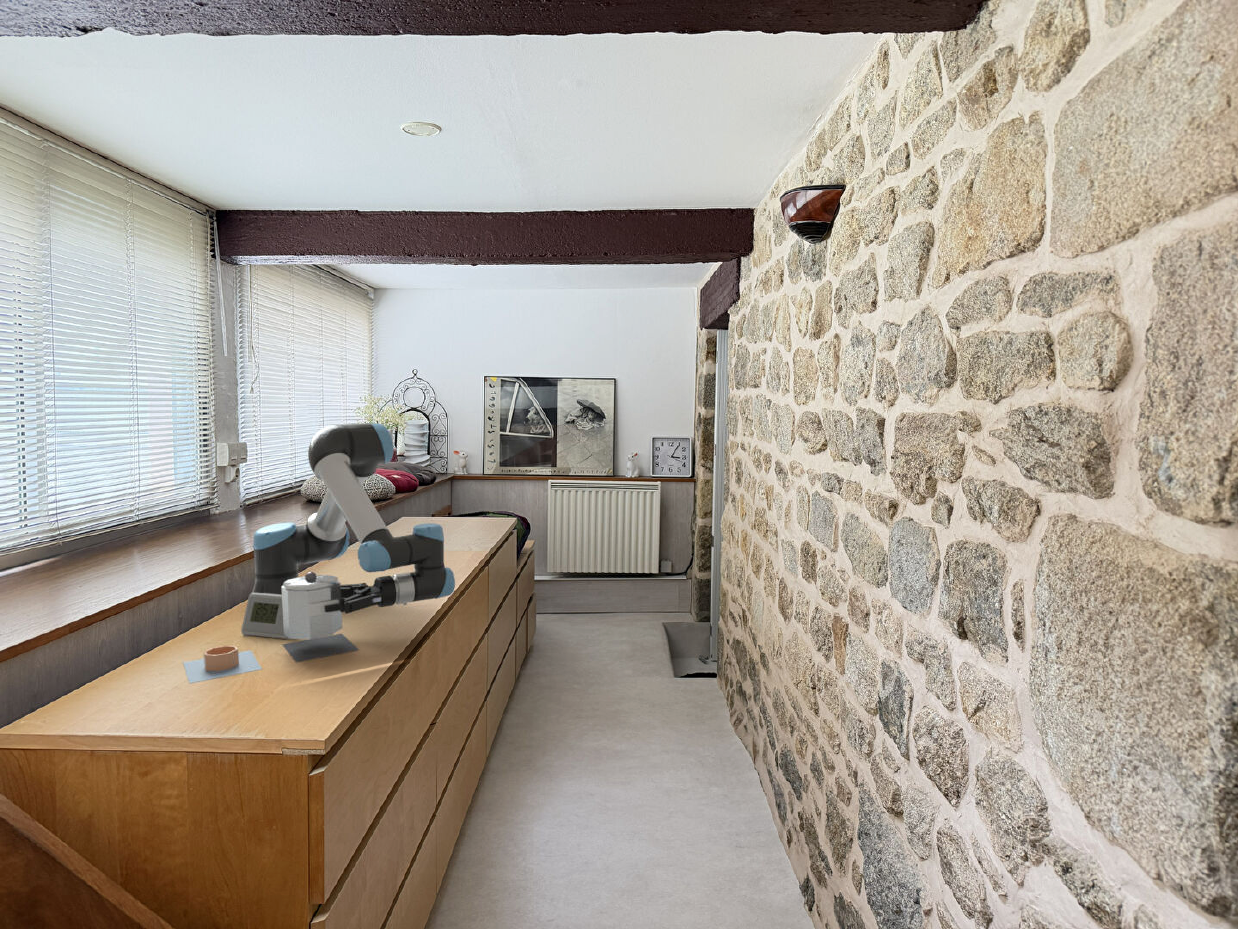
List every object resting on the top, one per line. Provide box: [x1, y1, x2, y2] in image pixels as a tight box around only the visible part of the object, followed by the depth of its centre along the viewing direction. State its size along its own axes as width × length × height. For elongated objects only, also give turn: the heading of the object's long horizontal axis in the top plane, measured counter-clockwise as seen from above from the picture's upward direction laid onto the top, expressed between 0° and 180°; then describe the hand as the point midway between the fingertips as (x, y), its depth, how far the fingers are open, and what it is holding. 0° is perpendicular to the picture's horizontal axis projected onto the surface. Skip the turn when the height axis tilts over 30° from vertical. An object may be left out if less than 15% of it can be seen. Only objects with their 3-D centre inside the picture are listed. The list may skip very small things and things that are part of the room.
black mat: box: [282, 633, 360, 663], centre depth 180 cm, size 16×14×1 cm
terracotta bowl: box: [203, 645, 239, 671], centre depth 168 cm, size 7×7×4 cm
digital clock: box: [240, 592, 291, 640], centre depth 191 cm, size 16×9×11 cm, turn 59°
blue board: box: [182, 649, 263, 684], centre depth 168 cm, size 16×14×1 cm
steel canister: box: [281, 571, 343, 640], centre depth 178 cm, size 12×12×14 cm
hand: (302, 604), depth 177 cm, fingers closed on steel canister, 12 cm apart
